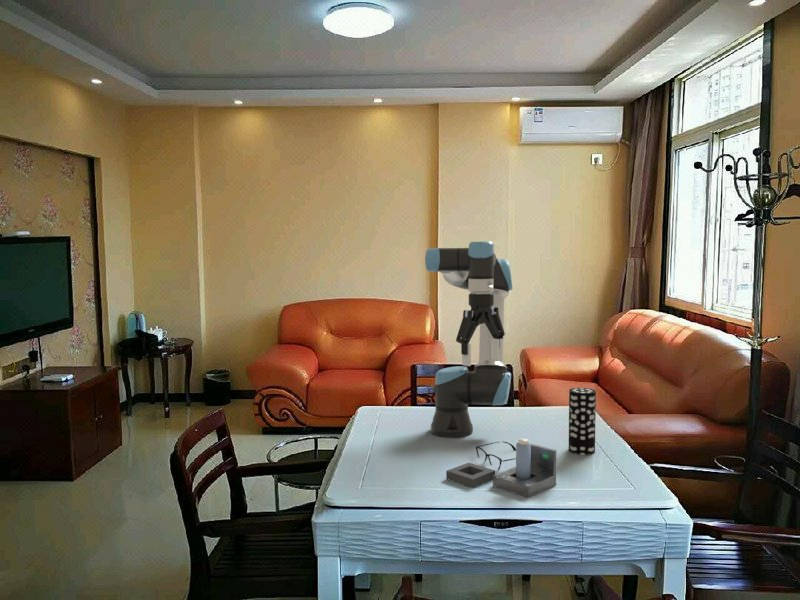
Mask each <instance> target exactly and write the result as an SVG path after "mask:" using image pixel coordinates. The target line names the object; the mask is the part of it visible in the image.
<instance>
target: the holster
mask: <svg viewBox="0 0 800 600" xmlns="http://www.w3.org/2000/svg"><path fill="white" fill-rule="evenodd" d="M445 474H446V477H445V479H446V480H448V479H449V480H448V481H451V480H452V481H451V482H453V481H455V482H454V483H456V482H458V483H457V484H459V483H461V484H460V485H462V484H464V485H463V486H465V485H466V487H468V486H469V487H468V488H471V487H472V488H471V489H474V488H477V487H479V486H481V484H482V485H484V484H487V483H489V482H491V480H492V481H493V475H496V470H495V469H492V468H489V467H485V466H481V465H479V464H476V463H471V462H467V463H464V464H461V465H458V466H455V467H453V468H450V469H447V470H446V471H445ZM488 481H489V482H488ZM486 482H487V483H486ZM483 483H484V484H483ZM478 485H479V486H478ZM476 486H477V487H476ZM473 487H474V488H473Z"/></svg>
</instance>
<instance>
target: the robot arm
mask: <svg viewBox="0 0 800 600" xmlns="http://www.w3.org/2000/svg"><path fill="white" fill-rule="evenodd" d="M494 246H495V245H494V243H493V241H471V242H469V243H468V247H457V248H456V247H452V248H451V247H435V248H434V247H433V248H427V249H426V251H425V258H424V262H425V263H424V264H425V269H426V271H427V272H433V273H437V272H438V273H441V274H442V277H443V279H444V280H445V282H446V283H448V284H449V285H451V286H453V287H456V288H459V289H463V290H468V292H470V293H469V294H468V306H470V310H469V309H468V310H467V309H463V312H462V319H461V322H460V326H459V330H458V332H457V334H456V335H457V336H456V339H455V342H457V343H459V344H460V346H461V347H460V348H461V349H460V351H461V353H460V354H461V356H462V357H461V361H462V362H461V364H462V365H461V366H459V365H458V366H457V365H456V366H449V367H445V368H441V369H439V370H437V372H436V373H435V382H434V385H435V387H434V390H435V392H434V393H435V394H434V395H435V411H434V415H433V418H432V422H431V424H430V433H431V434H433V435H434V436H438V437H444V438H462V437H467V436H470V435H472V434H473V433H474V432H473V430H474V427H473V423H472V421H471V420H472V419H471V417H470V413H469V405H489V406H503V405H506V403H507V402H508V399H509V394H510V388H511V380H512V373H511V372H509V371H508V366H506V364H504V336H505V335H506V332H505V330H504V325H505V322H504V321H505V299H506V298H507V297H508V296H509V294H510V293H509V291H512V290H513V281H512V274H511V265H510V264H511V263H510V261H509V260H508V259H505V258H497V256H496V254H495V249H494ZM478 327H479V345H478V351H479V352H478V362H477V364H475V365H474V369H473V370H472V371H469V369H468V367H471V366H472V344H471V343H470V341H471V340H472V338H473V336H474V333H475V331H476V329H477V328H478Z"/></svg>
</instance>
